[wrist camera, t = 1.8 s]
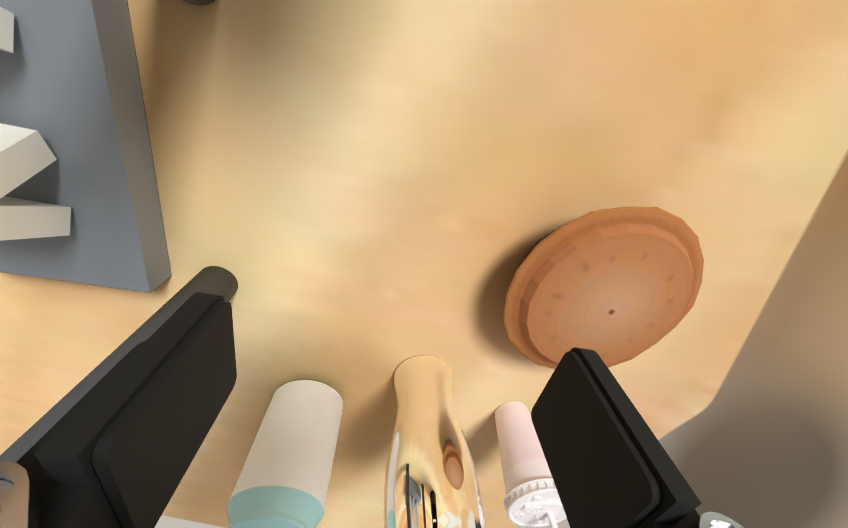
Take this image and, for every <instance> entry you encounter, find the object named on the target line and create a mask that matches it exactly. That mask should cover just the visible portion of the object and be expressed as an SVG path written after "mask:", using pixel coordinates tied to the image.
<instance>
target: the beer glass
mask: <svg viewBox="0 0 848 528" xmlns="http://www.w3.org/2000/svg"><path fill="white" fill-rule="evenodd" d="M453 380H454V378H453V371H452V369H451V367H450V365H449V364H448V363H447V362H446V361H444V360H442V359H441V358H438V357H435V356H429V355H421V356H415V357H412V358H409V359H407V360H405V361H404V362H402V363H401V364H400V365H399V366H398V367H397V369H396V371H395V373H394V387H395V392H396V398H397V415H396V421H395V426H394V430H393V435H392V439H391V444H390V449H389V454H388V460H387V466H386V473H385V485H384V510H383V518H384V528H485V523H484V515H483V507H482V501H481V494H480V488H479V483H478V479H477V474H476V470H475V465H474V462H473V459H472V456H471V452H470V449H469V446H468V443H467V441H466V438H465V435H464V432H463V430H462V427H461V425H460V422H459V419H458V416H457V413H456V411H455V407H454V402H453Z"/></svg>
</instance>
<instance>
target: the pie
mask: <svg viewBox="0 0 848 528" xmlns="http://www.w3.org/2000/svg"><path fill="white" fill-rule="evenodd" d="M703 262H704V260H703V256H702V252H701V248H700V244H699V240H698V236H697V235H696V234H695V233H694V232H693V231H692V230H691V228H690V227H689V226H688V225H687V224H686V223H685V222H684V221H683V220H682V218H679V217H677V216H675V215H673V214H671V213H668V212H666V211H664V210H662V209H660V208H658V207H620V208H613V209H605V210H597V211H592V212H590V213H588V214H586V215H584V216H582V217H580V218H577V219H575V220H573V221H571V222H569V223H567V224H565V225H563V226H561V227H560V228H558V229H556V230H554V231H553V232H552V233H550V234H549V235H548V236H547V237H545V238H544V239H543V240H541V241H540V242H539V243H538V244H537V245H536V246H535V247H534V249H533V250H532V251H531V252H530V254H529V255H528V256H527V257H526V259H525V260H524V261H523V263H522V264H521V265H520V266H519V268H518V269H517V270H516V272H515V275H514V277H513V279H512V282H511V284H510V286H509V288H508V291H507V293H506V298H505V305H504V312H503V322H504V326H505V329H506V333H507V337H508V339H509V340H510V341H511V343H512V344H513V345H514V346H515V347H516V348H517V349H518V350H519V351H520V352H521V353H522V354H524V355H525V356H527V357H528V358H530V359H531V360H532V361H534V362H535V363H537V364H538V365H542V366H546V367H550V368H554V369H556V367H557V366H558V364H559V362H560V361H561V359H562V357H563V355H564V354H565V353H566V352H569V351H570V350H571V349H572V348H583V349H590V350H594V351H596V352H597V353H598V354H599V356H600V357H601V359H602V360H603V362H604V363H605V365H606V366H607V367H611V366H614V365H617V364H620V363H622V362H625V361H628V360H631V359H633V358H634V357H636V356H637V355H639V354H641V353H642V352H644V351H645V350H647V349H648V348H650V347H651V346H653V345H655V344H656V343H657V342H658V341H659V340H661V339H662V338H663V337H664V336H665V335H667V334H668V333H669V332H670V331H671V330H673V329H674V328H675V327H676V326H677V325H678V324H679V322H680V321H681V320H682V319H683V318H684V317H685V315H686V314H687V313H688V312H689V311H690V309H691V308H692V307H693V306H694V303H695V300H696V297H697V294H698V292H699V289H700V286H701V283H702V274H703Z"/></svg>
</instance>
